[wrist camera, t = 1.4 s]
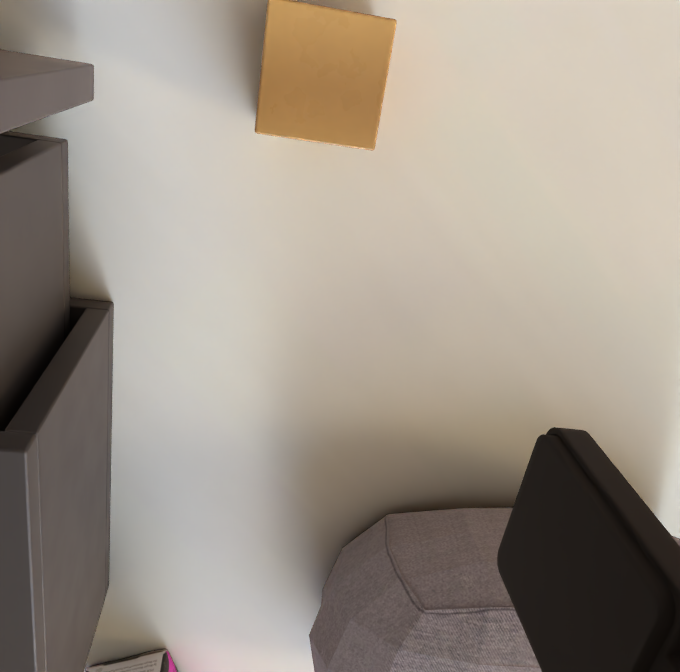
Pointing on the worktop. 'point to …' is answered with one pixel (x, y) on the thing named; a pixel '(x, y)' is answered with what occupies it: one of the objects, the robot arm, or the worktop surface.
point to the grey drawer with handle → (34, 219)
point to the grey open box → (58, 503)
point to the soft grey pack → (422, 599)
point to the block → (323, 74)
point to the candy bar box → (139, 663)
